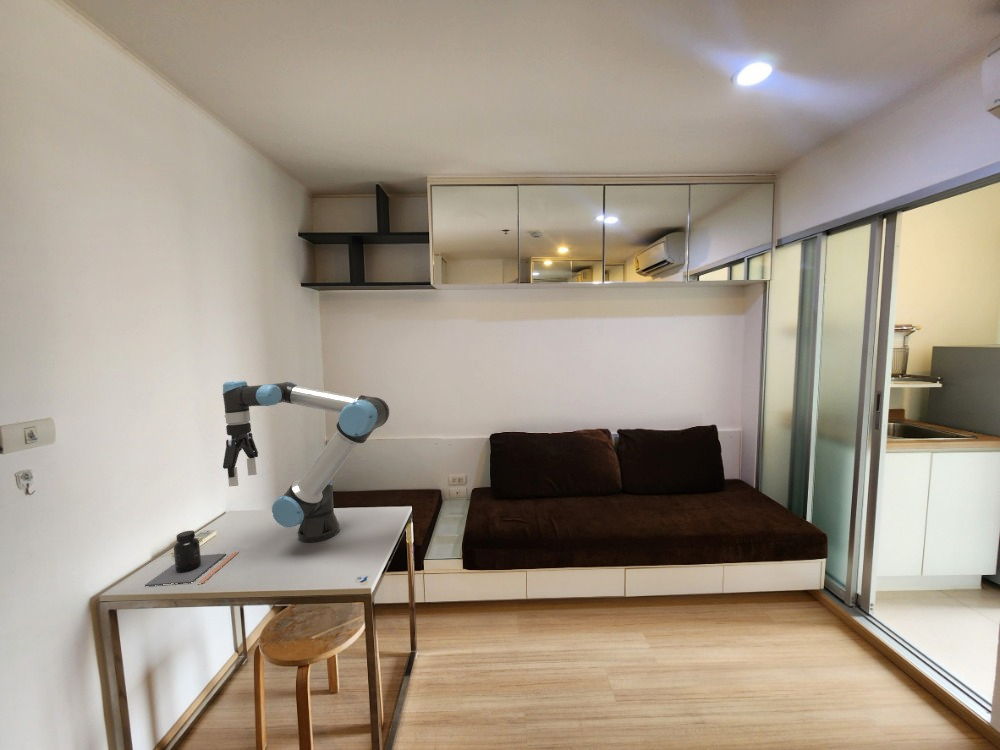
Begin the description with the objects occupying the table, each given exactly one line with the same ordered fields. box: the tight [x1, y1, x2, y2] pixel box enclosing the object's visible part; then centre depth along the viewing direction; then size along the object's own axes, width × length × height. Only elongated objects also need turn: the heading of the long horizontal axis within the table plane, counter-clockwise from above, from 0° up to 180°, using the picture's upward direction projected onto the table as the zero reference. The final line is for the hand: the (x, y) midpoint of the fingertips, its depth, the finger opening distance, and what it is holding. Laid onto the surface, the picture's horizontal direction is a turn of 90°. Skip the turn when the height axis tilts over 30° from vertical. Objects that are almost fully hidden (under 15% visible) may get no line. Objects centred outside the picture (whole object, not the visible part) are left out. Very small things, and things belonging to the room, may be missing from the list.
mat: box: [144, 553, 227, 587], centre depth 135 cm, size 14×18×1 cm
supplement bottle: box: [173, 530, 201, 573], centre depth 134 cm, size 7×7×12 cm
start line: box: [197, 551, 239, 584], centre depth 136 cm, size 2×20×1 cm, turn 5°
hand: (243, 480), depth 147 cm, fingers open, 13 cm apart
